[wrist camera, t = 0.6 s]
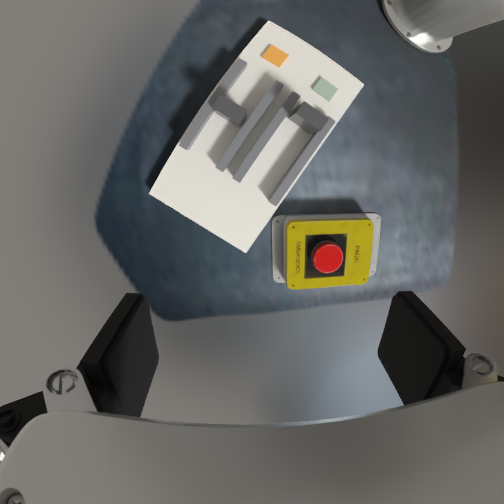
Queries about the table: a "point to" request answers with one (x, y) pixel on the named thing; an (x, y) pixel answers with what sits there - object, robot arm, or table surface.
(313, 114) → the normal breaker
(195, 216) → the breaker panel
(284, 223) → the emergency button
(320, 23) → the table surface
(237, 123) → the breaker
